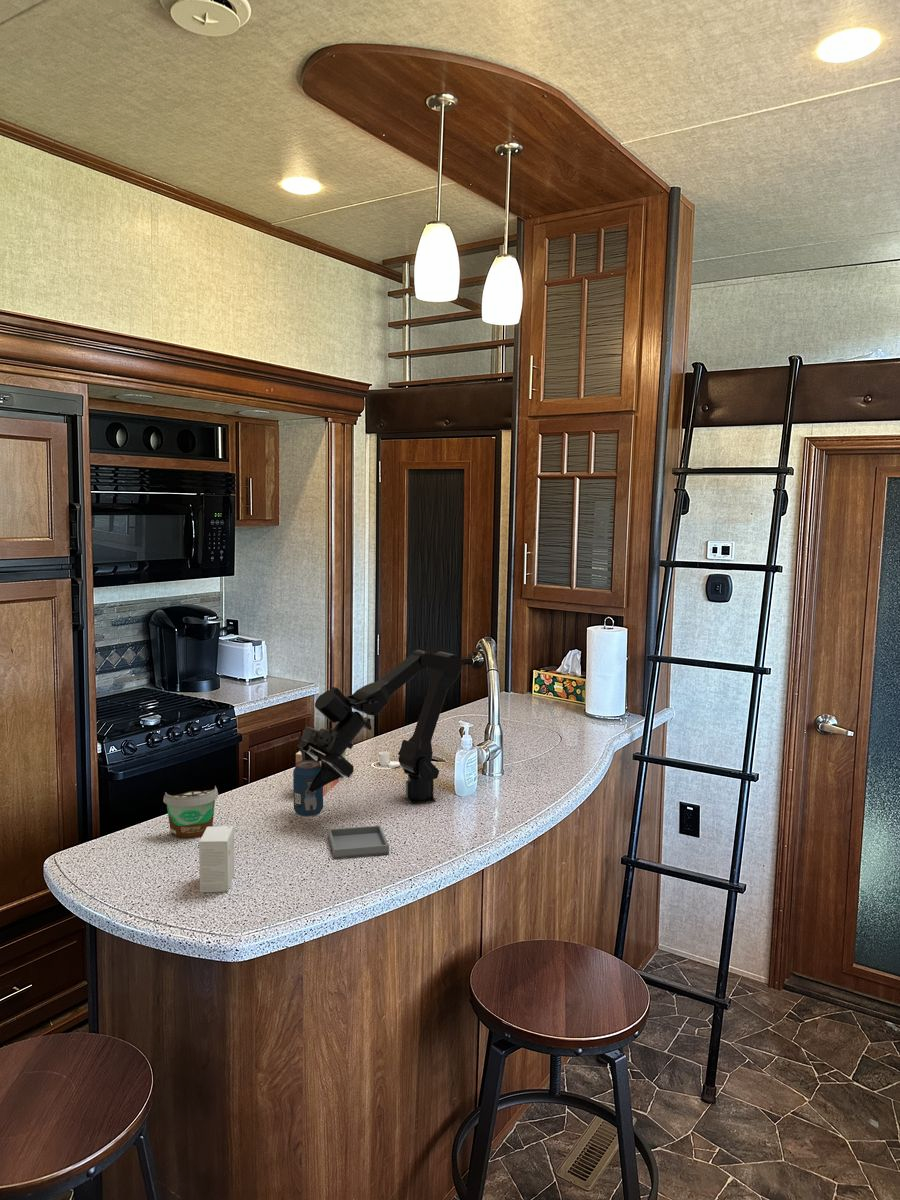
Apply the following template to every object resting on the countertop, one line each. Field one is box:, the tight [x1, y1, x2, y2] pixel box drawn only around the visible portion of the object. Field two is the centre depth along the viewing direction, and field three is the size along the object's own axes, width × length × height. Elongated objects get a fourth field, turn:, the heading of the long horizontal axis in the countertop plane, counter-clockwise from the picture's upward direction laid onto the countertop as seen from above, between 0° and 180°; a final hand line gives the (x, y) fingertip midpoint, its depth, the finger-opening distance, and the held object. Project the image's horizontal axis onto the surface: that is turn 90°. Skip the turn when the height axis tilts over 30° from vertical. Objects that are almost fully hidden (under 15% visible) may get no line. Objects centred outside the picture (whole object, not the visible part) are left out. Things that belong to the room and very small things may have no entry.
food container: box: [163, 785, 219, 840], centre depth 191 cm, size 12×6×10 cm, turn 117°
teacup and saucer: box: [370, 751, 401, 770], centre depth 246 cm, size 9×8×4 cm
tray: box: [327, 824, 390, 860], centre depth 187 cm, size 12×12×2 cm
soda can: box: [292, 760, 324, 818], centre depth 197 cm, size 7×7×12 cm
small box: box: [198, 825, 236, 893], centre depth 166 cm, size 8×6×10 cm
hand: (303, 786), depth 196 cm, fingers closed on soda can, 7 cm apart
